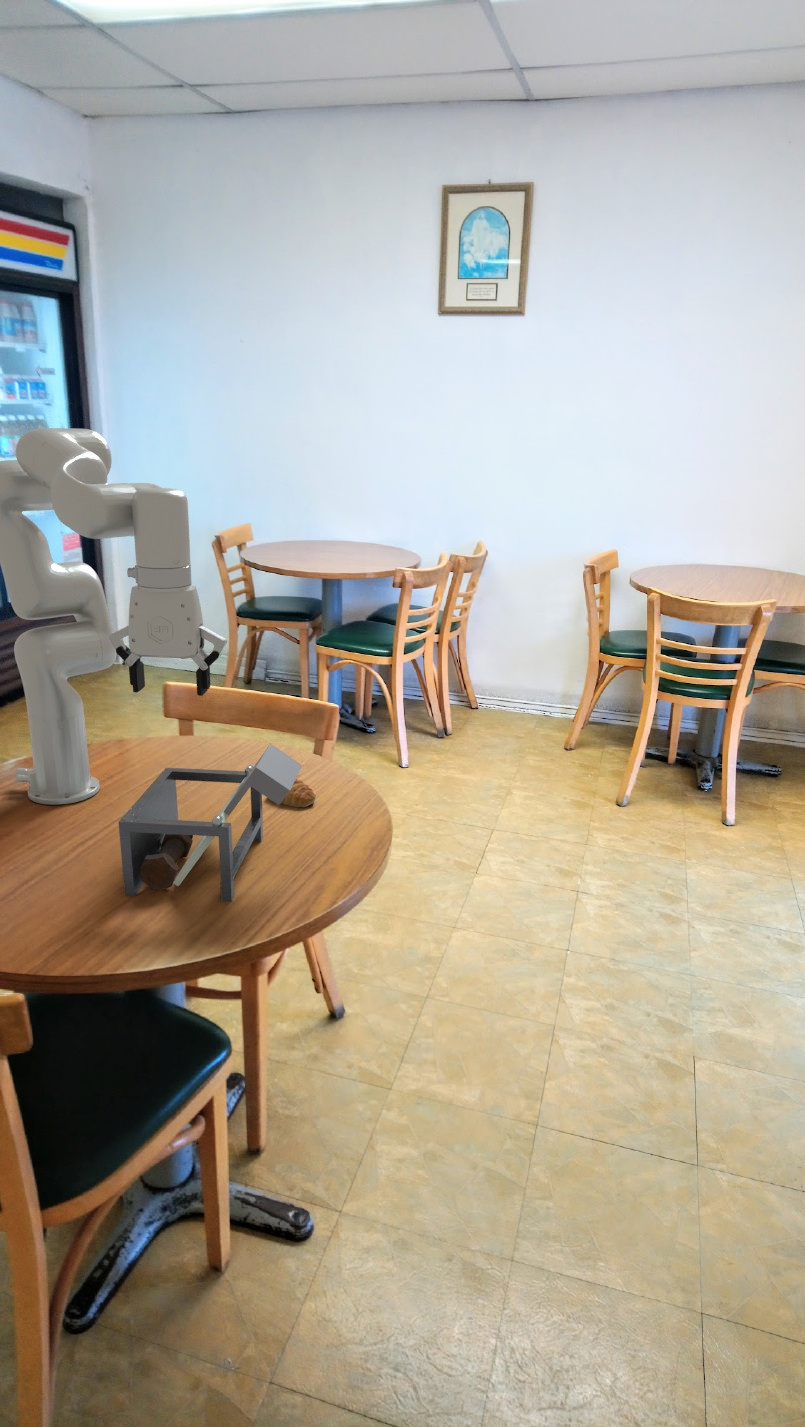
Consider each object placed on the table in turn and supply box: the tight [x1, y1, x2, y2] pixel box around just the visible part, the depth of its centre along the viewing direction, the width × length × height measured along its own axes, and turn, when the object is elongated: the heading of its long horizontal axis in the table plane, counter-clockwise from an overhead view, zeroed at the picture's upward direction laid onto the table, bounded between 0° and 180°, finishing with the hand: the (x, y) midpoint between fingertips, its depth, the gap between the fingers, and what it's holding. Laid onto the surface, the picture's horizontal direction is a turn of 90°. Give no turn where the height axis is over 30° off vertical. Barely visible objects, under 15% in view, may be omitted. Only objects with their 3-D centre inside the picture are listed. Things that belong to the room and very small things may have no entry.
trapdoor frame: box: [118, 764, 264, 903], centre depth 135 cm, size 16×21×13 cm
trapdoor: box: [173, 743, 303, 887], centre depth 134 cm, size 21×17×6 cm
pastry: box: [280, 778, 317, 808], centre depth 162 cm, size 9×7×4 cm
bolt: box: [139, 834, 194, 891], centre depth 136 cm, size 6×5×15 cm
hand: (170, 691), depth 130 cm, fingers open, 9 cm apart
